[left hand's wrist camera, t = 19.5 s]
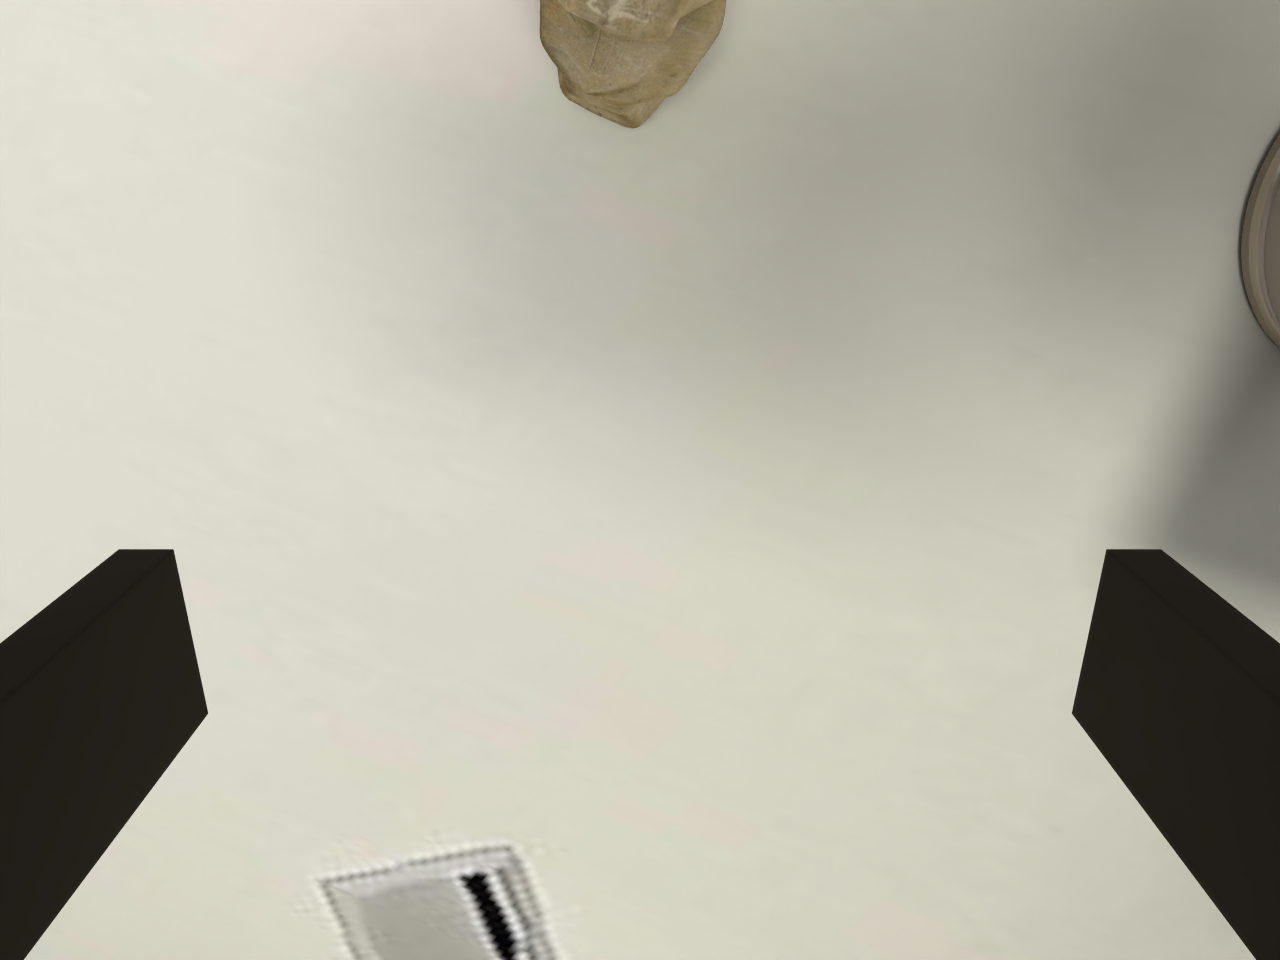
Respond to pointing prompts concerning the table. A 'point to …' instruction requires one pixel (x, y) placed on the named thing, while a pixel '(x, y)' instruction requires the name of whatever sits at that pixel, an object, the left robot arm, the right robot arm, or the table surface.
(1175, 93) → the table surface
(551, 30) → the sculpture
